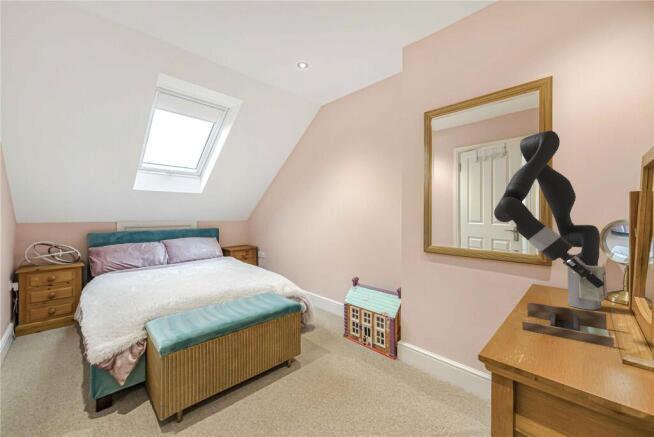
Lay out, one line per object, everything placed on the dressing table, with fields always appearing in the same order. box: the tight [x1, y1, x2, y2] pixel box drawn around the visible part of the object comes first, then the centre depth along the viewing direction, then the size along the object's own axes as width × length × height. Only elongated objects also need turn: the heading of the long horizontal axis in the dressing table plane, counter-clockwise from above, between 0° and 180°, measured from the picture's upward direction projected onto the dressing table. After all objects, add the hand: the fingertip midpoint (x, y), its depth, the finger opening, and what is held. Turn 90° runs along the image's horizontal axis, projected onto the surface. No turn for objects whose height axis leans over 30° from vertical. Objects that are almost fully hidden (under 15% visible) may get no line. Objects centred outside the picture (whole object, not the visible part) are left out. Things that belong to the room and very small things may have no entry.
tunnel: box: [521, 301, 615, 348], centre depth 89 cm, size 20×18×5 cm
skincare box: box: [578, 265, 608, 302], centre depth 84 cm, size 5×4×10 cm
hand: (600, 284), depth 83 cm, fingers closed on skincare box, 6 cm apart
